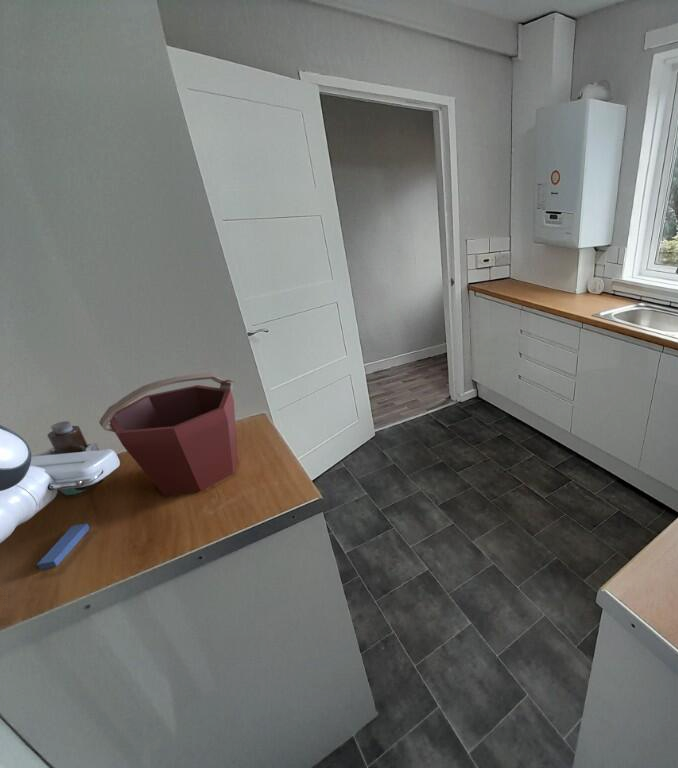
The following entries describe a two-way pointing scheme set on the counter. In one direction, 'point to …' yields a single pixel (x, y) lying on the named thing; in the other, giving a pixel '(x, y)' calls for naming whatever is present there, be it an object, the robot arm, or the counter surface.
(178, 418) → the bucket
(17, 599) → the counter surface
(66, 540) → the blue stick
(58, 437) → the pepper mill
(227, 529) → the counter surface
